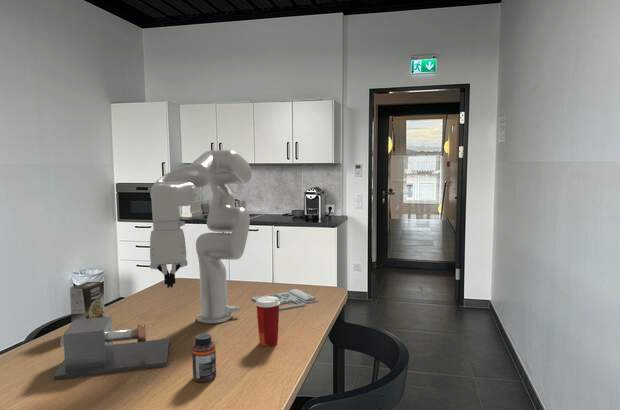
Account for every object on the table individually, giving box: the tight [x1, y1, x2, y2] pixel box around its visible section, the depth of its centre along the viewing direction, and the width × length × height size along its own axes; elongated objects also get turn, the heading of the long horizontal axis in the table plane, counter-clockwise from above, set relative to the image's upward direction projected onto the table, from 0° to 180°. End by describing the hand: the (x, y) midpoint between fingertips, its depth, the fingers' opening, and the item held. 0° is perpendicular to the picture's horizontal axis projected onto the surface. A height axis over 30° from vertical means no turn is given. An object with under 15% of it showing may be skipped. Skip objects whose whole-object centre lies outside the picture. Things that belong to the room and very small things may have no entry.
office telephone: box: [251, 288, 319, 312], centre depth 181 cm, size 23×3×20 cm
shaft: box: [59, 323, 148, 348], centre depth 125 cm, size 22×5×5 cm, turn 105°
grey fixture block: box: [53, 316, 170, 381], centre depth 126 cm, size 28×18×11 cm, turn 105°
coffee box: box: [69, 281, 106, 323], centre depth 149 cm, size 9×6×16 cm
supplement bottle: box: [191, 333, 217, 383], centre depth 114 cm, size 6×6×11 cm
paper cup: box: [254, 296, 281, 347], centre depth 137 cm, size 8×8×14 cm
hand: (170, 286), depth 131 cm, fingers closed
